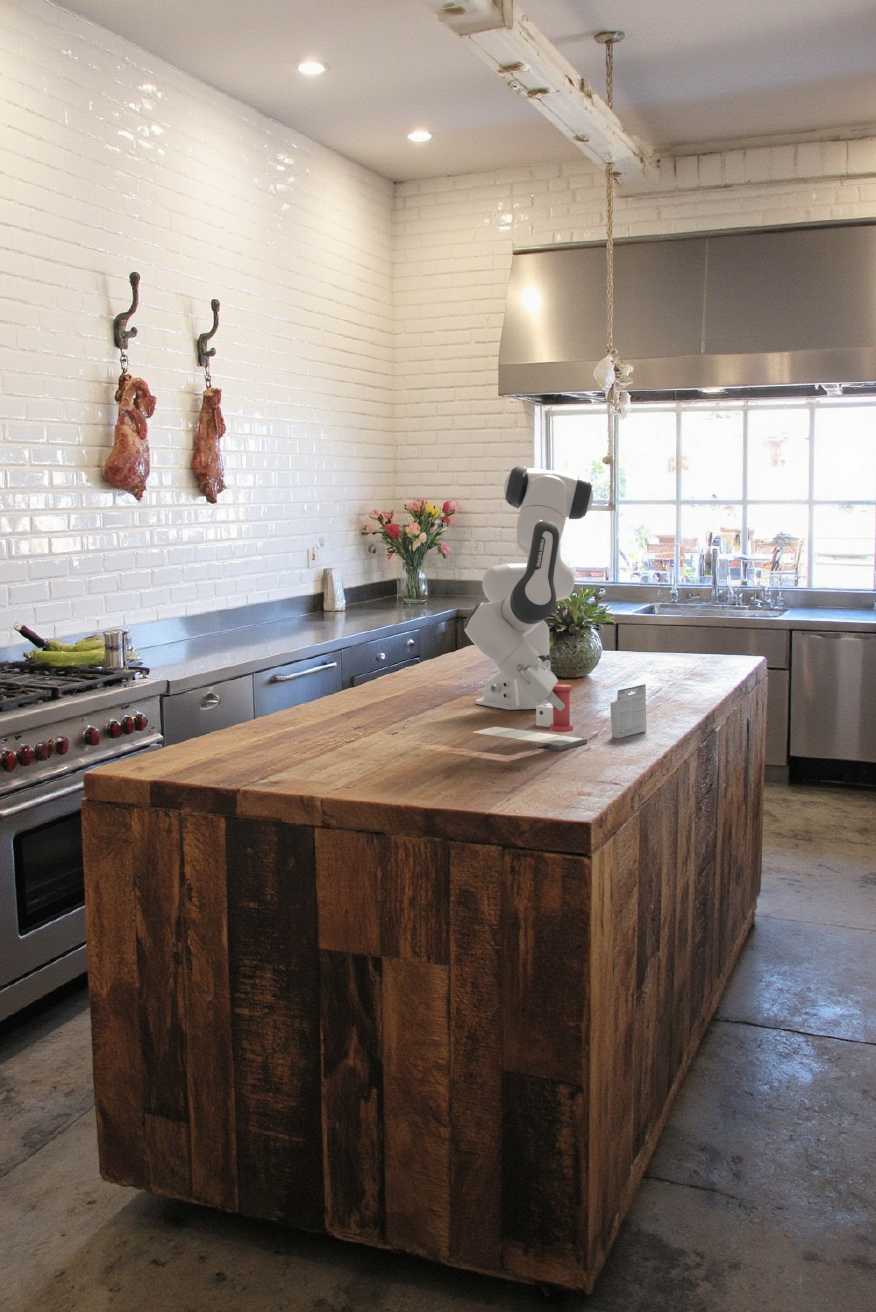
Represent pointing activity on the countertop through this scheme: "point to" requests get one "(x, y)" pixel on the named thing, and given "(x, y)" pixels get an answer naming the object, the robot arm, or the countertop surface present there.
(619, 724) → the ink box
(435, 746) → the countertop surface
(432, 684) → the countertop surface
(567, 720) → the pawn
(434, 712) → the countertop surface
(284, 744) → the countertop surface
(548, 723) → the die
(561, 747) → the game board
